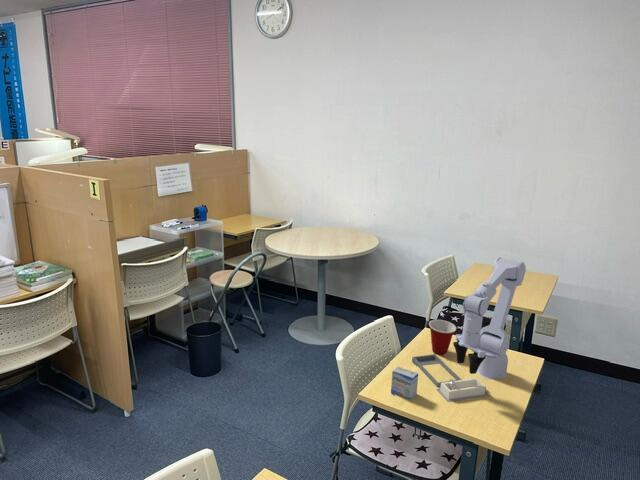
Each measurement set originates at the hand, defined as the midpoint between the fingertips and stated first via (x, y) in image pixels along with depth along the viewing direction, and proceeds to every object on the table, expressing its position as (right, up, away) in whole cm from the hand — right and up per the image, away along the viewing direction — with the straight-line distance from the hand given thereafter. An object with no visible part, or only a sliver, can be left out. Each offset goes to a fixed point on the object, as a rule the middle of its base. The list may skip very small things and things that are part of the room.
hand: (466, 367), depth 161 cm
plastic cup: (-1, -2, +32) cm, 32 cm away
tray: (-7, -6, +15) cm, 18 cm away
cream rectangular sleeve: (-1, -9, +2) cm, 9 cm away
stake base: (-1, -10, +2) cm, 10 cm away
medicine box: (-21, -10, +1) cm, 23 cm away
